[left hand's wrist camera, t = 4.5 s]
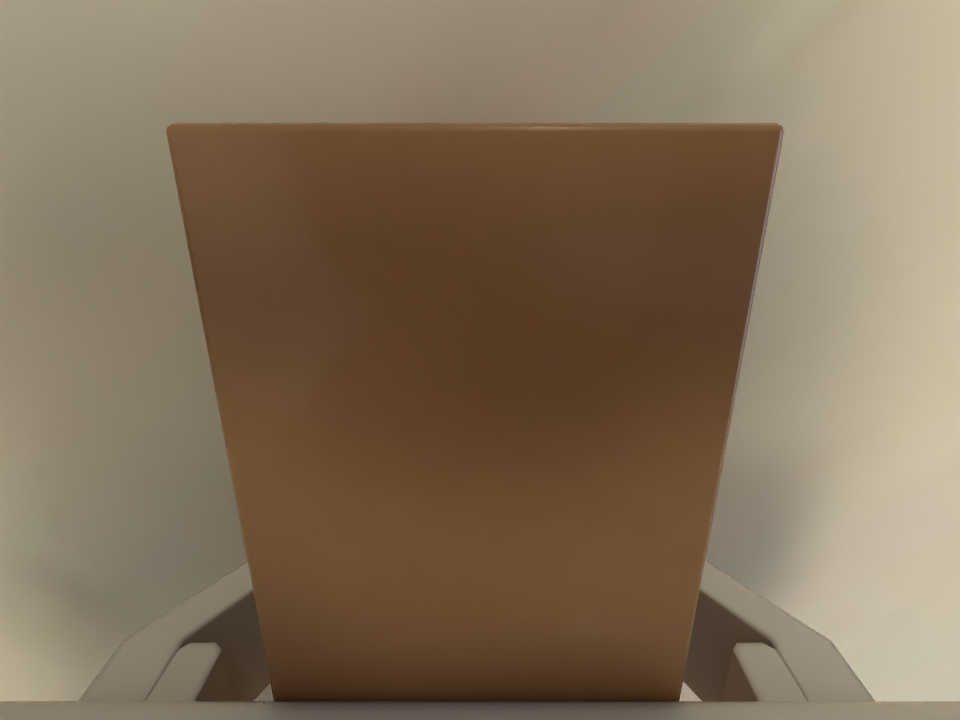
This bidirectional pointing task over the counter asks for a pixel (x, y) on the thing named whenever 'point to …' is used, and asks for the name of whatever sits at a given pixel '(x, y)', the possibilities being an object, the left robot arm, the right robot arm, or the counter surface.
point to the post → (475, 391)
